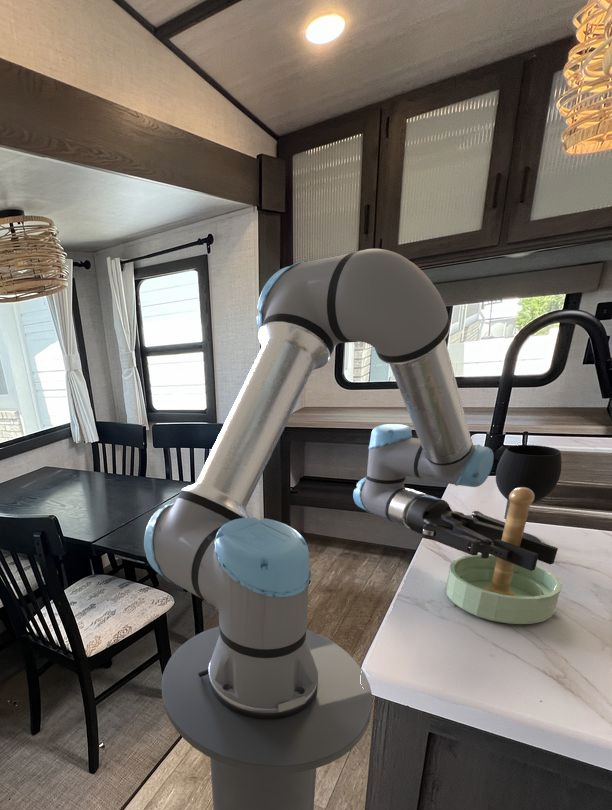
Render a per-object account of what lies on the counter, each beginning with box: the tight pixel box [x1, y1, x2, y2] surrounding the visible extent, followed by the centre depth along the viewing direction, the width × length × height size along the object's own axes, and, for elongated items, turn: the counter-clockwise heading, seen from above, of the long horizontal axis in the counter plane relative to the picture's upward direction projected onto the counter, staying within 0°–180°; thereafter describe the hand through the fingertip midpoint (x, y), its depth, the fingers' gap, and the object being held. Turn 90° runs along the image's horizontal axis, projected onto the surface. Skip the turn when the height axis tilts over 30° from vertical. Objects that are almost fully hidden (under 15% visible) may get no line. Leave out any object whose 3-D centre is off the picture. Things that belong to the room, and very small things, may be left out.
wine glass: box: [492, 444, 563, 543], centre depth 97 cm, size 10×10×20 cm
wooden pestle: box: [484, 487, 534, 596], centre depth 77 cm, size 4×4×20 cm
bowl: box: [445, 553, 563, 625], centre depth 80 cm, size 15×15×6 cm
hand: (544, 559), depth 72 cm, fingers open, 3 cm apart
